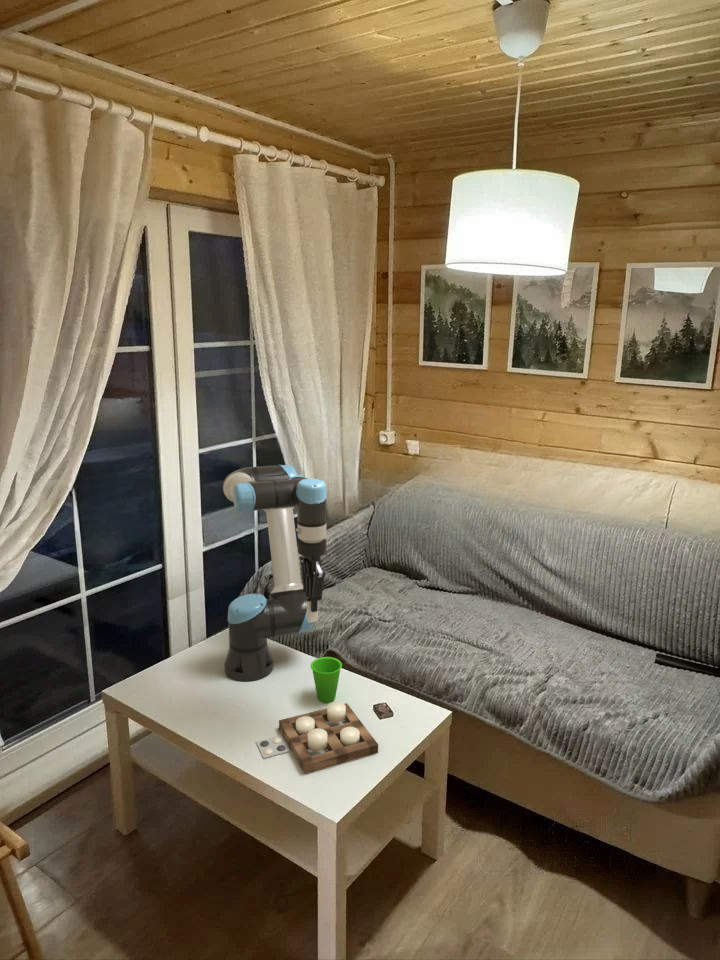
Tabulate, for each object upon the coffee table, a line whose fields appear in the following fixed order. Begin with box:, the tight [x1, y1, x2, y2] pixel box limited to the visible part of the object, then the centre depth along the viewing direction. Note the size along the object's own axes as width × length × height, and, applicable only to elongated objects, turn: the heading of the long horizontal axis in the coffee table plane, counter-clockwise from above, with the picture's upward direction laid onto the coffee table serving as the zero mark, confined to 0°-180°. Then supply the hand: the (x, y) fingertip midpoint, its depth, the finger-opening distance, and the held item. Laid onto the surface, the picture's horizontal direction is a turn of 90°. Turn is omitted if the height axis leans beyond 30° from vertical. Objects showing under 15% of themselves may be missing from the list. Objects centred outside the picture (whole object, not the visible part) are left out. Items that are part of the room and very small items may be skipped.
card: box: [255, 734, 291, 760], centre depth 177 cm, size 7×7×1 cm
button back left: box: [326, 701, 346, 723], centre depth 185 cm, size 5×5×3 cm
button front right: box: [308, 728, 327, 752], centre depth 173 cm, size 5×5×3 cm
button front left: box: [340, 727, 360, 747], centre depth 177 cm, size 5×5×3 cm
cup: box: [310, 656, 343, 704], centre depth 197 cm, size 9×9×11 cm
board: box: [278, 702, 379, 775], centre depth 180 cm, size 20×20×2 cm
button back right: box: [295, 716, 315, 736], centre depth 181 cm, size 5×5×3 cm
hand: (312, 620), depth 184 cm, fingers closed
